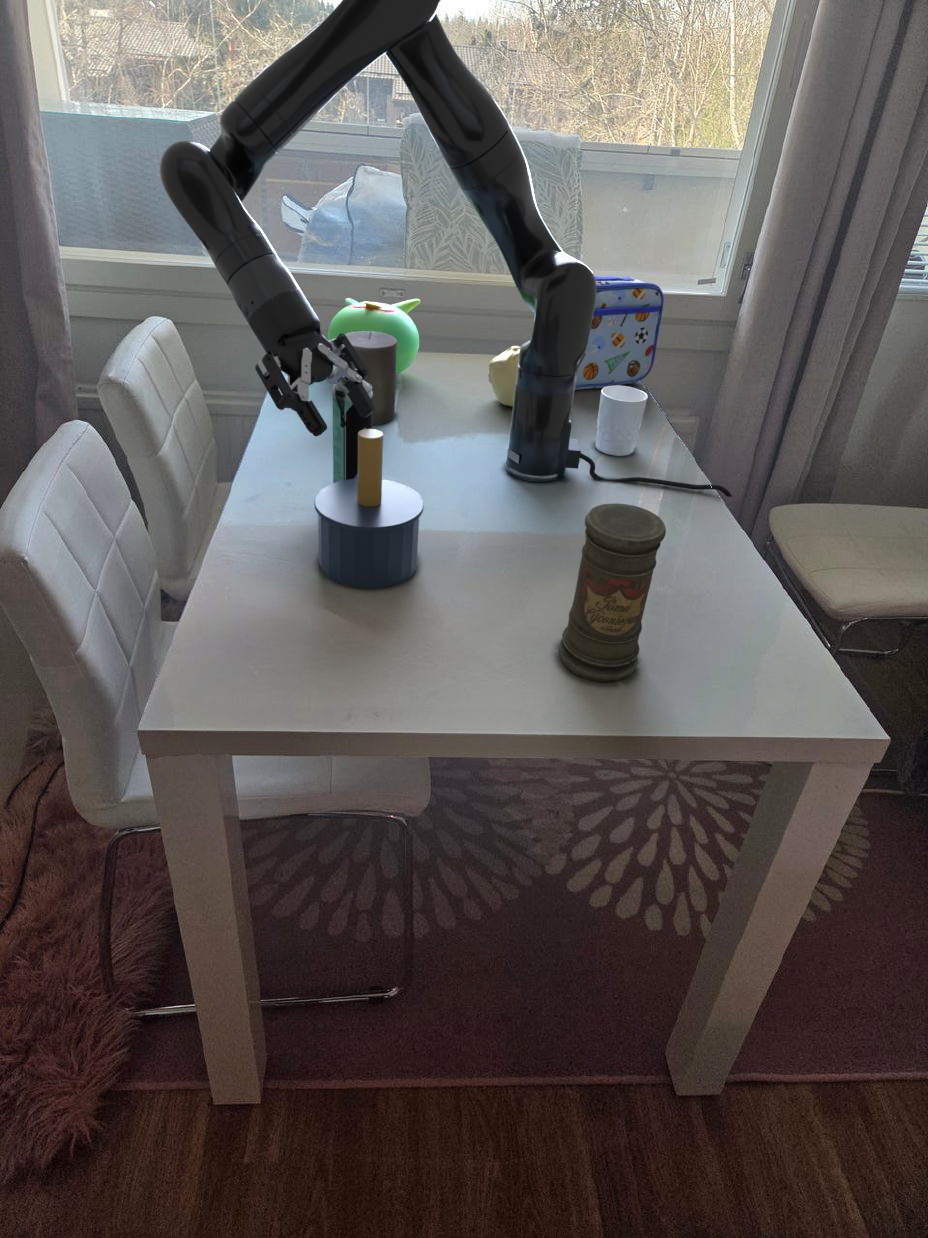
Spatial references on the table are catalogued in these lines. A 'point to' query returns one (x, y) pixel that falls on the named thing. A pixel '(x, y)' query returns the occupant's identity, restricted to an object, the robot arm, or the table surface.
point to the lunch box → (621, 333)
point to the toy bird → (381, 325)
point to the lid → (369, 494)
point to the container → (611, 592)
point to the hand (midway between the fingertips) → (346, 423)
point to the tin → (367, 555)
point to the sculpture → (504, 375)
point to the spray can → (347, 432)
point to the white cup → (619, 419)
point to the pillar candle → (378, 370)
